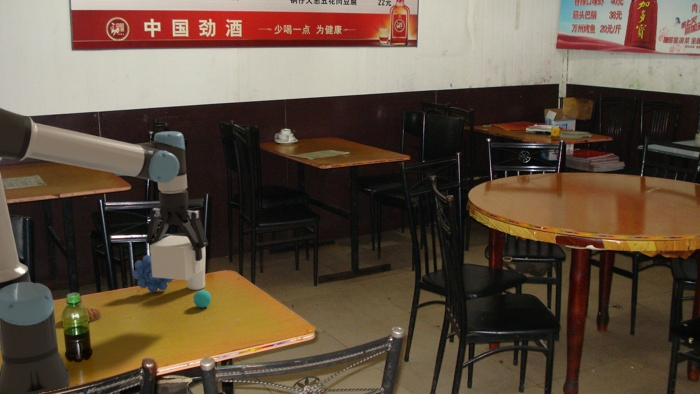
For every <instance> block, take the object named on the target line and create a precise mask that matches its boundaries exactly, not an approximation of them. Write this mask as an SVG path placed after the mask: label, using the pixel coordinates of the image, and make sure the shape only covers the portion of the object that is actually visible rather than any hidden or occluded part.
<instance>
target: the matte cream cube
mask: <svg viewBox="0 0 700 394" xmlns="http://www.w3.org/2000/svg"><path fill="white" fill-rule="evenodd" d="M192 249H194V247H193V246H192V244H191V242H190V241H189V239H188V237H187V236H186V235H185V236H184V235H174V234H173V235H172V234H171V235H168V236H166V237H163V239H162V240H160V241H158V242H156V243H154V244H150V245H149V251H150V252H149V254H150V256H151V266H152V277H157V278H168V279H172V280H178V281H179V280H180V281H181V280H182V281H187V279H189V278H191V277H192V276H194V275H195V274H197V273H199V272H200V271H202V270H203V269H205V270H206V259H205V260H204V247H203V248H202V260H200V271H199V272H197V273H193V265H192V251H191V250H192Z"/></svg>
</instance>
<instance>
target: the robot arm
mask: <svg viewBox="0 0 700 394" xmlns="http://www.w3.org/2000/svg"><path fill="white" fill-rule="evenodd" d="M26 158H31V159H35V160H36V159H37V160H42V161H46V162H47V161H48V162H53V163H58V164H63V165H64V164H65V165H69V166H75V167H80V168H85V169H91V170H97V171H103V172H108V173H113V174H114V175H115V176H118V177H119V176H121V177H122V176H126V177H127V176H129V177H135V178H139V179H144V180H149V181H153V182H155V183H157V188H158V190H159V192H158V203H159V206H160V208H158V207H154V208H152V209H150V210H149V215H150V221H149V224H148V229H147V235H146V239H145V242H146V244H148V245H149V244H150V245H152V244H154V243H156V242H158V241H160V240H162V239H164V238H165V235H166V232H168V231H167V230H168V229H169V226H172V225H175V226H179V228H180V229H182V230H183V232H184V234H185V236H186V237H188V239H189V241H190V242H191V244H192V246H193V247H194V249H192V250H191V251H192V265H193V273H197V272H199V271H200V260H202V248H203V247H205V248H206V247H207V246H209V241H208V239H207V236H206V234H205V233H206V232H205V230H204V227H203V223H202V221H201V213H200V210H198V209H197V210H196V209H195V210H190V208H189V191H188V190H187V189H188V179H187V164H186V163H187V161H186V145H185V138H184V134H183V133H182V132H180V131H176V130H175V131H173V130H172V131H171V130H170V131H160V132H157V133H155V134H154V138H153V141H150V142H141V143H130V142H126V141H120V140H116V139H110V138H106V137H102V136H96V135H93V134H89V133H84V132H79V131H75V130H71V129H65V128H61V127H57V126H52V125H48V124H47V125H46V124H42V123H37V122H34V120H33V119H32V117H30V116H29V115H28V116H27V115H23V114H20V113H16V112H13V111H9V110H7V109H5V108H2V107H0V161H1V160H2V159H8V160H9V159H10V160H15V161H21V162H22V161H23V160H25V159H26ZM160 216H161V217H162V220H161V222H160V226H159V228H158V225H159V221H160ZM189 219H190V220H191V221H190V220H189ZM191 224H192V225H191ZM16 244H17V243H16V239H15V236H14V231H13V225H12V221H11V216H10V211H9V207H8V202H7V198H6V192H5V189H4V183H3V179H2V173H1V172H0V354H1V365H0V394H39V393H42V392H49V391H54V390H58V389H62V388H65V387H67V388H68V387H69V386H70V385H71V377H70V372H69V370H68V368H67V367H66V366H65V365H66V364H65V362H64V360H63V358H62V356H61V354H60V352H59V346H58V345H59V344H58V336H57V326H56V319H55V318H56V317H55V309H54V308H55V302H54V299H53V295H52V292H51V290H50V288H48V286H46V285H44V284H43V283H39V282H32V281H31V278H30V272H29V267H28V266H27V265H25V264H23V263H21V262H20V260H19V255H18V250H17V249H18V248H17V245H16Z"/></svg>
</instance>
